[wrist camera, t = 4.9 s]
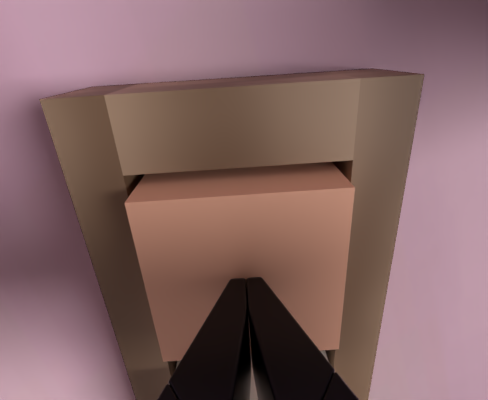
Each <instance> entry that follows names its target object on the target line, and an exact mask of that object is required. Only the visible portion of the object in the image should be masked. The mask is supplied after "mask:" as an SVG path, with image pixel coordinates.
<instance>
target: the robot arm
mask: <svg viewBox="0 0 488 400" xmlns="http://www.w3.org/2000/svg"><path fill="white" fill-rule="evenodd" d="M246 285H247V287H246ZM249 332H250V333H249ZM250 346H251V349H250ZM251 359H252V368H253V375H254V380H255V386H256V391H257V397H258V400H359V399H358V398H357V396H356V395H355V394H354V393H353V392H352V390H351V389H350V388H349V387H348V385H347V384H346V383H345V382H344V380H343V379H342V378H341V377H340V375H339V374H338V373H337V372H335V369H334V368H333V367H332V365H331V364H330V363H329V362H328V360H327V359H326V358H325V357H324V355H323V354H322V353H321V351H320V350H319V349H318V348H317V346H316V345H315V344H314V343H313V341H312V340H311V339H310V337H309V336H308V335H307V334H306V332H305V331H304V330H303V329H302V327H301V326H300V325H299V324H298V322H297V321H296V320H295V318H294V317H293V316H292V315H291V313H290V312H289V311H288V310H287V308H286V307H285V306H284V305H283V303H282V302H281V301H280V299H279V298H278V297H277V296H276V294H275V293H274V292H273V291H272V289H271V288H270V287H269V285H268V284H267V283H266V282H265V280H264V279H263V278H262V277H249V278H247V279H245V278H233V279H230V280H229V282H228V283H227V285H226V287H225V288H224V290H223V292H222V293H221V295H220V297H219V298H218V300H217V302H216V303H215V305H214V307H213V308H212V310H211V312H210V313H209V315H208V317H207V318H206V320H205V322H204V323H203V325H202V326H201V328H200V330H199V331H198V333H197V335H196V336H195V338H194V340H193V341H192V343H191V345H190V346H189V348H188V350H187V351H186V353H185V355H184V356H183V358H182V360H181V361H180V363H179V365H178V366H177V368H176V370H175V371H174V373H173V374H172V376H171V378H170V379H169V381H168V383H169V384H167V385H166V386H165V387H164V389H163V391H162V392H161V394H160V396H159V397H158V399H157V400H250V386H251Z"/></svg>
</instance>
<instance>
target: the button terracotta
mask: <svg viewBox="0 0 488 400" xmlns="http://www.w3.org/2000/svg"><path fill="white" fill-rule="evenodd" d="M354 194H355V187H354V186H353V185H352V184H351V182H350V181H349V180H348V179H347V178H346V177H345V176H344V175H343V174H342V173H341V172H340V170H339V169H338V168H337V167H336V166H335V165H334V164H333V163H332V162H319V163H304V164H289V165H274V166H259V167H244V168H229V169H214V170H199V171H184V172H170V173H155V174H145V175H144V176H143V178H142V179H141V181H140V182H139V183H138V185H137V186H136V188H135V189H134V190H133V192H132V193H131V194H130V196H129V197H128V199H127V200H126V201H125V203H124V204H125V208H126V212H127V216H128V220H129V224H130V228H131V232H132V236H133V240H134V244H135V248H136V253H137V257H138V261H139V265H140V269H141V273H142V277H143V281H144V285H145V289H146V293H147V297H148V302H149V306H150V310H151V314H152V318H153V322H154V326H155V330H156V334H157V338H158V342H159V346H160V351H161V355H162V359H163V362H166V361H180V360H182V358H183V356H184V355H185V353H186V351H187V350H188V348H189V346H190V345H191V343H192V341H193V340H194V338H195V336H196V335H197V333H198V331H199V330H200V328H201V326H202V325H203V323H204V322H205V320H206V318H207V317H208V315H209V313H210V312H211V310H212V308H213V307H214V305H215V303H216V302H217V300H218V298H219V297H220V295H221V293H222V292H223V290H224V288H225V287H226V285H227V283H228V282H229V280H230V279H233V278H245V279H247V278H249V277H262V278H263V279H264V280H265V282H266V283H267V284H268V285H269V287H270V288H271V289H272V291H273V292H274V293H275V294H276V296H277V297H278V298H279V299H280V301H281V302H282V303H283V305H284V306H285V307H286V308H287V310H288V311H289V312H290V313H291V315H292V316H293V317H294V318H295V320H296V321H297V322H298V324H299V325H300V326H301V327H302V329H303V330H304V331H305V332H306V334H307V335H308V336H309V337H310V339H311V340H312V341H313V343H314V344H315V345H316V346H317V348H318V349H319V350H320V351H321V350H335V349H339V343H340V333H341V323H342V313H343V303H344V293H345V283H346V273H347V263H348V253H349V243H350V233H351V223H352V213H353V204H354ZM246 287H247V285H246ZM249 333H250V332H249ZM250 349H251V346H250Z"/></svg>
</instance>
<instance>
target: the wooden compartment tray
mask: <svg viewBox="0 0 488 400" xmlns="http://www.w3.org/2000/svg"><path fill="white" fill-rule="evenodd" d="M423 79H424V74H418V73H408V72H399V71H390V70H380V69H359V70H344V71H328V72H313V73H298V74H282V75H267V76H251V77H236V78H221V79H205V80H190V81H174V82H159V83H144V84H128V85H113V86H97V87H89V88H85V89H81V90H76V91H72V92H68V93H64V94H60V95H55V96H51V97H47V98H43V99H39V100H40V103H41V106H42V109H43V112H44V115H45V118H46V121H47V125H48V128H49V131H50V134H51V137H52V140H53V143H54V146H55V149H56V152H57V156H58V159H59V162H60V165H61V168H62V171H63V174H64V177H65V180H66V183H67V187H68V190H69V193H70V196H71V199H72V202H73V205H74V208H75V211H76V214H77V218H78V221H79V224H80V227H81V230H82V233H83V236H84V239H85V242H86V245H87V249H88V252H89V255H90V258H91V261H92V264H93V267H94V270H95V273H96V276H97V280H98V283H99V286H100V289H101V292H102V295H103V298H104V301H105V304H106V307H107V311H108V314H109V317H110V320H111V323H112V326H113V329H114V332H115V335H116V338H117V342H118V345H119V348H120V351H121V354H122V357H123V360H124V363H125V366H126V369H127V373H128V376H129V379H130V382H131V385H132V388H133V391H134V394H135V397H136V400H157V399H158V397H159V396H160V394H161V392H162V391H163V389H164V387H165V386H166V385H167V384H169V383H168V381H169V379H170V378H171V376H172V374H173V373H174V371H175V370H176V366H177V361H166V362H163V359H162V355H161V351H160V346H159V342H158V338H157V334H156V330H155V326H154V322H153V318H152V314H151V310H150V306H149V302H148V297H147V293H146V289H145V285H144V281H143V277H142V273H141V269H140V265H139V261H138V257H137V253H136V248H135V244H134V240H133V236H132V232H131V228H130V224H129V220H128V216H127V212H126V208H125V204H124V203H125V201H126V200H127V199H128V197H129V196H130V194H131V193H132V192H133V190H134V189H135V188H136V186H137V185H138V183H139V182H140V181H141V179H142V178H143V176H144V175H145V174H155V173H170V172H184V171H199V170H214V169H229V168H244V167H259V166H274V165H289V164H304V163H319V162H332V163H333V164H334V165H335V166H336V167H337V168H338V169H339V170H340V172H341V173H342V174H343V175H344V176H345V177H346V178H347V179H348V180H349V181H350V182H351V184H352V185H353V186H354V187H355V194H354V204H353V213H352V223H351V233H350V243H349V253H348V263H347V273H346V283H345V293H344V303H343V313H342V323H341V333H340V343H339V349H335V350H325V352H326V355H327V358H328V361H329V363H330V364H331V365H332V367H333V368H334V369H335V372H337V373H338V374H339V375H340V377H341V378H342V379H343V380H344V382H345V383H346V384H347V385H348V387H349V388H350V389H351V390H352V392H353V393H354V394H355V395H356V396H357V398H358V399H359V400H368V397H369V391H370V385H371V379H372V373H373V368H374V362H375V356H376V350H377V345H378V339H379V333H380V327H381V322H382V316H383V310H384V304H385V299H386V293H387V287H388V281H389V275H390V270H391V264H392V258H393V252H394V247H395V241H396V235H397V229H398V224H399V218H400V212H401V206H402V200H403V195H404V189H405V183H406V177H407V172H408V166H409V160H410V154H411V149H412V143H413V137H414V131H415V126H416V120H417V114H418V108H419V102H420V97H421V91H422V85H423Z"/></svg>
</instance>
